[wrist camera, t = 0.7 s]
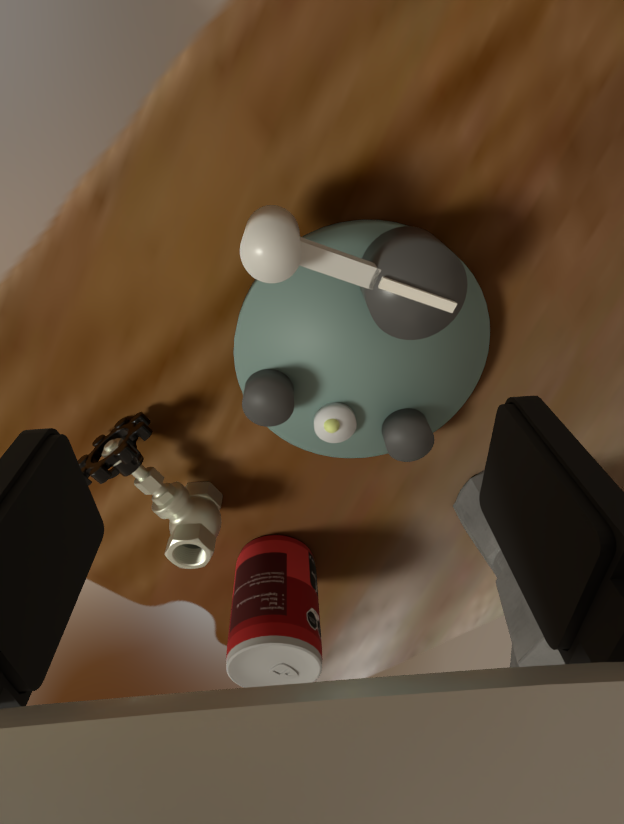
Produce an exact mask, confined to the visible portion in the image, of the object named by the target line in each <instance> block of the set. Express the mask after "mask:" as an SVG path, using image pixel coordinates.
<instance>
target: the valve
mask: <svg viewBox="0 0 624 824" xmlns="http://www.w3.org/2000/svg"><path fill="white" fill-rule="evenodd" d="M149 424H150V420H149V419H148V418H147V417H146V416H145V415H144V414H143V413H142V412H139V413H137V414H136V415H135V416H134V417H133V418H132V419H131V421H129V420H128V419H127V418H122V419H121V420H119V421H118V422H117V423H116V424H115V429H114V430H113V431H112V432H111V433H110V434H109V435H107V436H105V435H100V436H99V437H98V438H96V439H95V441H94V442H93V446H94V447H95V448H94V449H93V451H92V452H91V453H90V454H89V455H84V456H82V457H81V458H80V459H79V460H78V463H79V466H80V468H81V471H82V473H83V475H84V478H85V480H86V483H87V485H88V486H89V485H90V484H91V483H92V481H90V480H89V479H88V477H89V476H91V477H93V478H94V479H95V480H96V481H97V482H99V483H100V484H102V483H104V482H106V481H107V480H108V479H111V478H114V477H116V476H117V475H118V474H119V473H120V474H121V475H123V476H128V475H130V474H132V475H133V476H134V477H135V478H136V479H135V481H134V485H135V486H136V487H137V488H139V489H140V490H141V491H142V492H143V493H144V494H153V496H152V501H153V503H152V510H153V512H155V513H156V514H157V515H158V516H159V517H160V518H162V519H167V518H168V519H169V520H170V523H169V528H170V533H171V536H170V538H169V540H168V543H167V547H166V551H165V556H166V557H167V558H168V559H169V560H170V561H171V562H172V563H173V564H175V565H176V566H178V567H180V568H186V569H194V568H200V567H205V566H206V564H207V563H208V562H209V560H210V558H211V557H212V555H213V553H214V548H215V542H216V538H217V536H218V534H219V531H220V528H221V514H220V511H219V510H220V508H221V504H222V498H223V495H222V493H221V492H220V491H219V490H218V489H217V488H216V487H215V486H214V485H213V484H212V483H211V482H189V483H187V485H186V487H184V486H183V485H182V484H181V483H180V482H173V483H163V480H164V476H162V475H161V474H160V473H159V472H158V471H157V470H156V469H155V468H154V467H147V468H145V467H144V466H143V465H142V462H143V459H144V458H143V456H142V455H141V453H140V452H139V451H138V450H137V446H136V441H137V439H138V437H141V438H142V439H143V440H144V441H145V440H147V439H148V438H149V437H150V436H151V434H152V432H153V431H152V430H151V429H150V428H149V427H148V425H149ZM101 456H103V457H104V459H102V460H101V461H99V459H100V457H101ZM98 461H99V462H98ZM110 467H113V468H112V469H111V470H109V471H108V469H109V468H110Z"/></svg>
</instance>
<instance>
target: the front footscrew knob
mask: <svg viewBox="0 0 624 824" xmlns="http://www.w3.org/2000/svg"><path fill="white" fill-rule="evenodd" d="M240 257H241V261H242V263H243V266H244V267H245V269H246V270H247V272H248V273H249V274H250V275H251V276H252V277H254V278H255V279H257V280H259V281H261V282H265V283H279V282H282V281H285V280H287V279H288V278H290V277H291V276H292V275H293V274H294V273H295V272H296V270H297V269H298V267H299V266H302V267H305V268H308V269H311V270H314V271H317V272H320V273H323V274H326V275H329V276H332V277H335V278H338V279H341V280H344V281H346V282H349V283H352V284H355V285H358V286H360V289H361V292H362V294H363V297H364V299H365V302H366V304H367V307H368V309H369V311H370V314H371V316H372V318H373V320H374V322H375V323H376V324H377V326H378V327H379V328H380V329H381V330H383V331H384V332H385V333H387V334H388V335H390V336H392V337H395V338H398V339H403V340H418V339H423V338H427V337H430V336H432V335H434V334H436V333H438V332H440V331H441V330H443V329H444V328H445V327H447V326H448V325H449V324H450V323H451V322H452V321H453V320H454V319H455V317H456V316H457V315H458V313H459V312H460V310H461V308H462V306H463V304H464V301H465V298H466V294H467V285H468V284H467V275H466V271H465V269H464V266H463V264H462V262H461V261H460V259H459V258H458V257H457V256H456V255H455V254H454V253H453V252H452V251H451V250H450V249H449V248H447V247H446V246H445V245H444V244H443V243H442V242H441V241H439V240H438V239H437V238H436V237H435V236H434V235H433V234H431V233H430V232H428V231H426V230H424V229H422V228H418V227H413V226H402V227H397V228H393V229H391V230H388V231H386V232H385V233H383V234H381V235H380V236H379V237H377V238H376V239H375V240H374V241H373V242H372V243H371V244H370V245H369V247H368V248H367V250H366V251H365V253H364V255H363V257H362V259H361V258H358V257H356V256H353V255H350V254H347V253H344V252H341V251H339V250H336V249H333V248H330V247H327V246H325V245H322V244H319V243H316V242H313V241H310V240H308V239H305V238H302V237H300V233H299V227H298V224H297V221H296V219H295V218H294V216H293V215H292V214H291V213H290V212H289V211H288V210H286V209H285V208H282V207H280V206H276V205H267V206H263V207H261V208H259V209H257V210H256V211H255V212H254V213H253V214H252V215H251V216H250V218H249V220H248V222H247V225H246V228H245V232H244V235H243V238H242V241H241V245H240Z"/></svg>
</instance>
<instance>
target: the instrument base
mask: <svg viewBox="0 0 624 824" xmlns="http://www.w3.org/2000/svg"><path fill="white" fill-rule="evenodd" d="M402 226H407V225H404V224H400V223H397V222H391V221H384V220H354V221H346V222H340V223H336V224H333V225H329V226H326V227H322V228H320V229H318V230H315V231H313V232H311V233H309V234H306V235H304V236H303V237H302V238H305V239H308V240H310V241H313V242H316V243H319V244H322V245H325V246H327V247H330V248H333V249H336V250H339V251H341V252H344V253H347V254H350V255H353V256H356V257H358V258H361V259H362V257H363V255H364V253H365V251H366V250H367V248H368V247H369V245H370V244H371V243H372V242H373V241H374V240H375V239H376V238H377V237H379V236H380V235H381V234H383V233H385V232H386V231H388V230H391V229H393V228H397V227H402ZM460 261H461V260H460ZM461 262H462V264H463V266H464V269H465V271H466V275H467V284H468V285H467V294H466V298H465V301H464V304H463V306H462V308H461V310H460V312H459V313H458V315H457V316H456V317H455V319H454V320H453V321H452V322H451V323H450V324H449V325H448V326H447V327H445V328H444V329H443V330H441V331H440V332H438V333H436V334H434V335H432V336H430V337H427V338H423V339H418V340H403V339H398V338H395V337H392V336H390V335H388V334H387V333H385V332H384V331H383V330H381V329H380V328H379V327H378V326H377V324H376V323H375V322H374V320H373V318H372V316H371V314H370V311H369V309H368V307H367V304H366V302H365V299H364V297H363V294H362V292H361V289H360V286H358V285H355V284H352V283H349V282H346V281H344V280H341V279H338V278H335V277H332V276H329V275H326V274H323V273H320V272H317V271H314V270H311V269H308V268H305V267H302V266H299V267H298V269H297V270H296V272H295V273H294V274H293V275H292V276H291V277H290V278H288V279H287V280H285V281H282V282H279V283H265V282H261V281H259V280H257V279H255V281H254V282H253V284H252V286H251V288H250V289H249V291H248V293H247V295H246V297H245V300H244V302H243V305H242V308H241V311H240V314H239V318H238V323H237V328H236V333H235V339H234V362H235V370H236V374H237V378H238V382H239V385H240V387H241V390H242V392H243V401H242V407H243V411H244V413H245V415H246V416H247V418H248V419H249V420H251V421H252V422H254V423H255V424H258V425H261V426H267V427H268V428H269V429H270V430H271V431H273V432H274V433H275V434H277V435H278V436H279V437H281V438H282V439H284V440H286V441H287V442H289V443H291V444H293V445H295V446H297V447H299V448H302V449H304V450H307V451H310V452H313V453H316V454H320V455H325V456H331V457H340V458H364V457H372V456H378V455H383V454H387V453H389V455H390V456H391V457H392V458H394V459H396V460H399V461H403V462H410V461H415V460H418V459H420V458H422V457H424V456H425V455H426V454H428V453H429V451H430V450H431V449H432V447H433V444H434V435H433V432H435V431H436V430H437V429H439V428H440V427H442V426H443V425H444V424H445V423H446V422H447V421H448V420H450V419H451V418H452V417H453V416H454V415H455V414H456V413H457V411H458V410H459V409H460V408H461V407H462V406H463V405H464V403H465V402H466V401H467V399H468V398H469V396H470V395H471V393H472V392H473V390H474V388H475V386H476V385H477V383H478V381H479V379H480V376H481V374H482V371H483V369H484V366H485V363H486V359H487V355H488V350H489V341H490V319H489V314H488V309H487V304H486V301H485V299H484V296H483V293H482V290H481V288H480V286H479V284H478V283H477V281H476V279H475V277H474V275H473V274H472V273H471V272H470V270H469V269H468V268H467V266H466V265H465V264H464V263H463V261H461Z"/></svg>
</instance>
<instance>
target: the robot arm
mask: <svg viewBox="0 0 624 824" xmlns="http://www.w3.org/2000/svg"><path fill="white" fill-rule="evenodd" d="M479 502H480V507H481V510H482V512H483V514H484V516H485V519H486V521H487V523H488V525H489V527H490V529H491V531H492V533H493V535H494V537H495V539H496V541H497V543H498V545H499V547H500V549H501V551H502V553H503V555H504V557H505V559H506V561H507V563H508V565H509V567H510V569H511V571H512V573H513V575H514V577H515V579H516V581H517V583H518V585H519V588H520V590H521V592H522V594H523V596H524V598H525V600H526V602H527V604H528V606H529V608H530V610H531V612H532V614H533V616H534V618H535V620H536V622H537V624H538V626H539V628H540V630H541V632H542V634H543V636H544V638H545V640H546V642H547V644H548V645H549V646H550V648H552V649H553V650H558V651H559V653H560V654H561V656H562V658H563V660H564V662H565V664H563V665H545V666H527V667H510V668H497V669H483V670H470V671H456V672H443V673H430V674H416V675H402V676H389V677H376V678H362V679H349V680H336V681H323V682H311V683H298V684H285V685H273V686H260V687H248V688H235V689H223V690H210V691H198V692H186V693H174V694H162V695H150V696H138V697H126V698H114V699H102V700H91V701H80V702H68V703H55V704H43V705H33V706H26V704H27V702H28V700H29V697H30V695H31V693H32V691H35V690H37V689H38V688H39V687H40V686H41V684H42V683H43V680H44V678H45V676H46V674H47V671H48V669H49V666H50V664H51V661H52V659H53V657H54V654H55V652H56V649H57V647H58V645H59V642H60V640H61V637H62V635H63V633H64V630H65V628H66V625H67V623H68V621H69V618H70V616H71V613H72V611H73V609H74V606H75V604H76V601H77V599H78V596H79V594H80V592H81V589H82V587H83V584H84V582H85V580H86V577H87V575H88V572H89V570H90V568H91V565H92V563H93V560H94V558H95V555H96V553H97V551H98V548H99V546H100V543H101V541H102V538H103V534H104V524H103V521H102V518H101V516H100V513H99V511H98V509H97V506H96V504H95V502H94V499H93V497H92V494H91V492H90V490H89V487H88V485H87V483H86V480H85V478H84V475H83V473H82V471H81V468H80V466H79V463H78V461H77V459H76V456H75V454H74V452H73V449H72V447H71V444H70V442H69V440H68V438H67V437H66V436H65V435H63V434H59V432H58V431H57V430H56V429H53V428H50V429H35V430H25V431H23V432H22V433H20V434H19V436H18V437H17V438H16V439H15V441H14V442H13V443H12V444H11V446H10V447H9V448H8V449H7V451H6V452H5V453H4V454H3V456H2V457H1V458H0V824H624V492H623V491H622V490H621V489H620V488H619V487H618V485H617V484H616V483H615V482H614V481H613V480H612V479H611V478H610V476H609V475H608V474H607V473H606V472H605V471H604V470H603V468H602V467H601V466H600V465H599V464H598V463H597V462H596V461H595V459H594V458H593V457H592V456H591V455H590V454H589V453H588V451H587V450H586V449H585V448H584V447H583V446H582V445H581V444H580V442H579V441H578V440H577V439H576V438H575V437H574V436H573V434H572V433H571V432H570V431H569V430H568V429H567V428H566V427H565V425H564V424H563V423H562V422H561V421H560V420H559V419H558V418H557V416H556V415H555V414H554V413H553V412H552V411H551V410H550V408H549V407H548V406H547V405H546V404H545V403H544V402H543V401H542V399H541V398H539V397H538V396H523V397H510V398H508V399H507V401H506V403H505V404H502V405H500V406H499V407H498V410H497V414H496V418H495V423H494V428H493V433H492V437H491V442H490V447H489V452H488V456H487V461H486V466H485V471H484V475H483V480H482V485H481V490H480V495H479Z"/></svg>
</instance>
